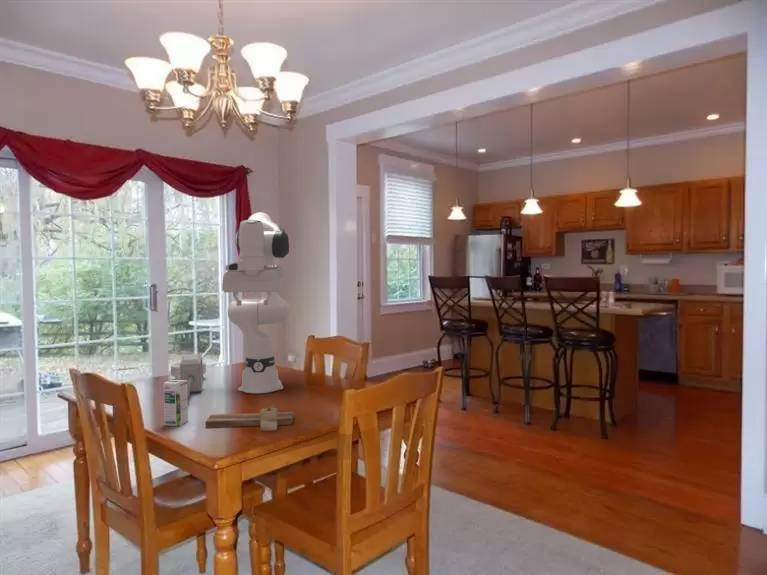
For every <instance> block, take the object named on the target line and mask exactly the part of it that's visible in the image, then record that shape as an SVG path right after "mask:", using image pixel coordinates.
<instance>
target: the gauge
mask: <svg viewBox="0 0 767 575" xmlns="http://www.w3.org/2000/svg"><path fill="white" fill-rule="evenodd" d="M277 412H278V408H276V406H275V405H271V406H270V407H269V406H268V407H266V408H262V409H261V410H260V412H259V413H260V421H261V426H260V431H261V430H263V431H277V429H278V427H279V425H278V413H277Z"/></svg>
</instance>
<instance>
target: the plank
mask: <svg viewBox="0 0 767 575" xmlns="http://www.w3.org/2000/svg"><path fill="white" fill-rule="evenodd" d="M277 413H278V426H287V425H290V426H291V425H292V426H293V422H294V418H295V417H294V411H285V412H284V411H283V412H280V411H279V412H278V411H277ZM257 426H258V427H261V421H260V412H251V413H249V412H248V413H226V414H225V413H224V414H222V413H220V414H210V416H209V417H208V418H207V419H206V421H205V429H206V428H207V429H208V428H210V429H211V428H236V427H237V428H238V427H257Z"/></svg>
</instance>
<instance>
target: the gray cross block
mask: <svg viewBox="0 0 767 575" xmlns="http://www.w3.org/2000/svg"><path fill="white" fill-rule="evenodd" d="M180 363H181V362H176V363H173V364H170V376H171V377H174V378H175V380H181V374H180ZM202 365H203V375H205V374H206V371H207V370H206V369H207V368H206V367H207V366H206V361H205V362H204V361H202Z"/></svg>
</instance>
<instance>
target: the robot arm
mask: <svg viewBox="0 0 767 575" xmlns="http://www.w3.org/2000/svg"><path fill="white" fill-rule="evenodd" d="M235 242H236V249H237V251H238V253H239V255H238V261H235V262H230V263H229V264H228V263H227V264H226V265H225V268H224V269H225V271H226V272H225V273H224V274H223V276H222V285H221V289H222V291H223V292H224V293H232V297H233V298H234V299H235V300H233V301H231V302H230V304H229V305H228V307H227V316H228V317H227V318H228V319H229V320H230V322H232V324H234V325H235V326H237V327H238V329H239V330H240V331H241V333H242V334H243V336H244V340H245V347H246V357H245V366H246V367H245V368H244V369H243V370H242V373H241V375H242V376H241V386H239V387H238V389H237V391H240V392H244V393H247V394H267V393H272V392H276V391H280V390H283V389H284V386H283V383H282V382H281V380H280V377H279V373H278V372H279V371H278V369H277V368H276V366H275V364H276V363H275V361H276V359H275V356H274V339H273V337H272V336H271V335H270V334H268V333H267V332H264V331H262V330H260V328H259V326H258V325H276V324H277V325H278V324H282V323H285V322H287V320H288V319H289V317H290V315H291V306H290V305H289V302H287V300H285V298H282V297H281V296H280V295H279V294H278V292H279V293H280V292H282V290H283V284H282V283H283V282H282V277H283V269H282V268H281V267H280V266H278V265H275V264H274V263H275V261H274V258H275V259H276V258H277V259H284V258H285V257H286V256H287V255H289V253H290V249H291V241H290V237H289V235H288V234H287V232H286V230H285V229H284V228H282V226H280V225H279V224H277V223H275V222H273V220H272V218H271V216H270V215H268V214H267V213H265V212H261V211H259V212H255V213H253V214H251V215H249V217H248V219H245V220H242V221H240V223H239V228H238V229H237V231H236V234H235ZM239 293H251V294H253V295H255V296H258V297H260V298H241V299H239V298H238V296H239Z"/></svg>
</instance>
